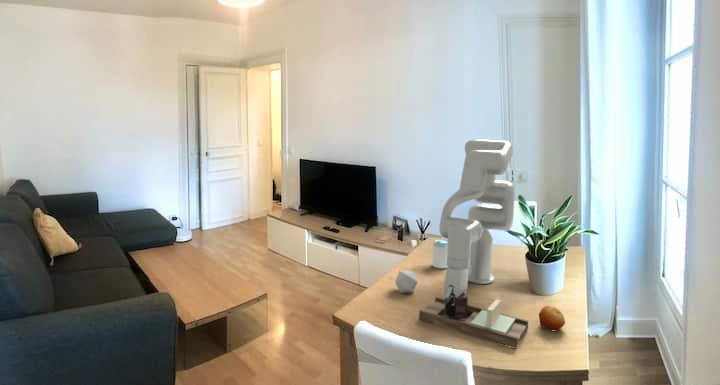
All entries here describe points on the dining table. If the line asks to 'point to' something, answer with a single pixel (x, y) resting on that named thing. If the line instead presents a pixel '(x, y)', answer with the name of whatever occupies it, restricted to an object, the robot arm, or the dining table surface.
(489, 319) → the lid
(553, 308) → the fruit
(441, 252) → the can
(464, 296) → the box
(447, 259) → the robot arm
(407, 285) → the die
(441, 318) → the brown wooden tray
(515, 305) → the dining table surface
